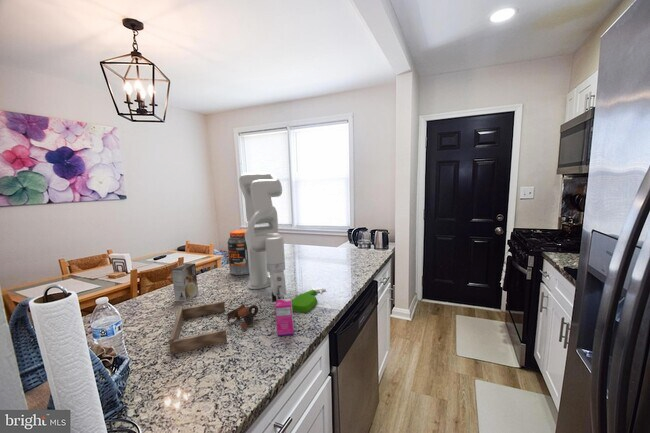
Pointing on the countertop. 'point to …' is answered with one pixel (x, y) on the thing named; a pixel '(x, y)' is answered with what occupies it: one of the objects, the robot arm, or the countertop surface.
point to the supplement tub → (238, 253)
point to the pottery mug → (243, 315)
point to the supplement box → (284, 317)
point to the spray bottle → (306, 300)
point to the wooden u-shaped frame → (197, 340)
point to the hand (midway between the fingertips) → (278, 305)
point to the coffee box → (185, 281)
